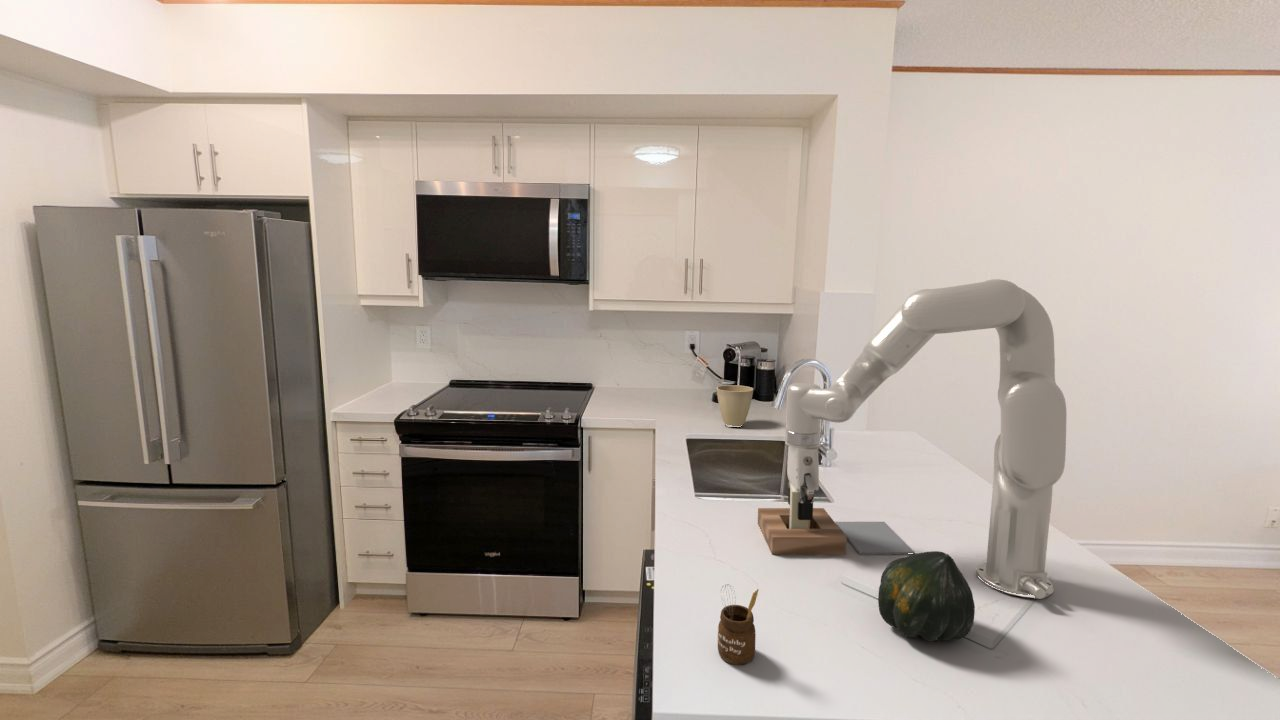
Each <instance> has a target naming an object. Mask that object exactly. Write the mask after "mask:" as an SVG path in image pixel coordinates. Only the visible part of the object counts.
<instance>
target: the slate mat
mask: <svg viewBox="0 0 1280 720" xmlns="http://www.w3.org/2000/svg"><path fill="white" fill-rule="evenodd" d="M834 522H835V523H836V525H837V526H838V527H839V528H840V530H841V531H842V532H843V533H844V535H845V536H846V540H847V541H848V542H849V543H850V544H851V546H852V547H853V548H854V549H855V551H856V553H857V554H858V555H865V556H866V555H867V556H868V555H871V556H873V555H876V554H878V555H879V556H880V555H881V554H908V553H913V554H916V553H915V551H914V550H913V549H912V548H911V547H910V546H909V545H908V544H907V543H906V542H905V541H904V540H903V539H902V538H901V537H900V536H899V535H898V534H897V533H896V532H895V530H894V529H892V528H891V526H889V525H888V523H886V522H885V521H834ZM876 556H877V555H876Z"/></svg>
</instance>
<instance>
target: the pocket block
mask: <svg viewBox="0 0 1280 720" xmlns="http://www.w3.org/2000/svg"><path fill="white" fill-rule="evenodd" d="M789 516H790V507H758V508H757V525H758V527H760V528H759V529H761V530H760V532H761V534H762V536H763V538H764V540H765V543H766V545H767V546H768V550H769V551H770V553H771V555H774V556H775V555H779V556H781V555H783V556H784V555H785V556H786V555H792V556H793V555H794V556H795V555H802V556H803V555H807V556H809V555H812V556H813V555H827V556H828V555H839V556H840V555H842V556H843V555H846V554H847V553H846V551H847V538H846V536H845V535H844V533H843V532H842V531H841V530H840V528H839V527H838V526H837V525H836V523H835V522H836V521H834V519H833V518H832V517H831V516H830V515H829V513H828V512H827V510H826V509H825V508H824V507H813V519H812V520H810V529H789Z"/></svg>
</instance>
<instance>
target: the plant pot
mask: <svg viewBox="0 0 1280 720" xmlns="http://www.w3.org/2000/svg"><path fill="white" fill-rule="evenodd" d="M753 394H754V387H750V386H747V385H746V386H745V385H740V384H739V385H736V384H735V385H732V384H728V385H726V384H725V385H719V386H716V396H717V402H718V406H719V411H720V415H721V417H722V421H723V424H724V423H725V424H727V425H732V426H741V425H743V424H745V422H746V420H747V417H748V415H749V411H750V408H751V403H752V401H753V400H752V399H753ZM743 426H744V425H743Z"/></svg>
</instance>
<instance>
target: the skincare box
mask: <svg viewBox="0 0 1280 720" xmlns="http://www.w3.org/2000/svg"><path fill="white" fill-rule="evenodd" d="M801 489H806V487H801ZM805 494H806V492H803V497H804V495H805ZM798 502H800V499H799V491H798V490H797V489H796V488H795V487H794V486H793V485H792V483H791V484H790V505H789V508H790V516H789V529H810V520H799V519H798Z"/></svg>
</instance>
